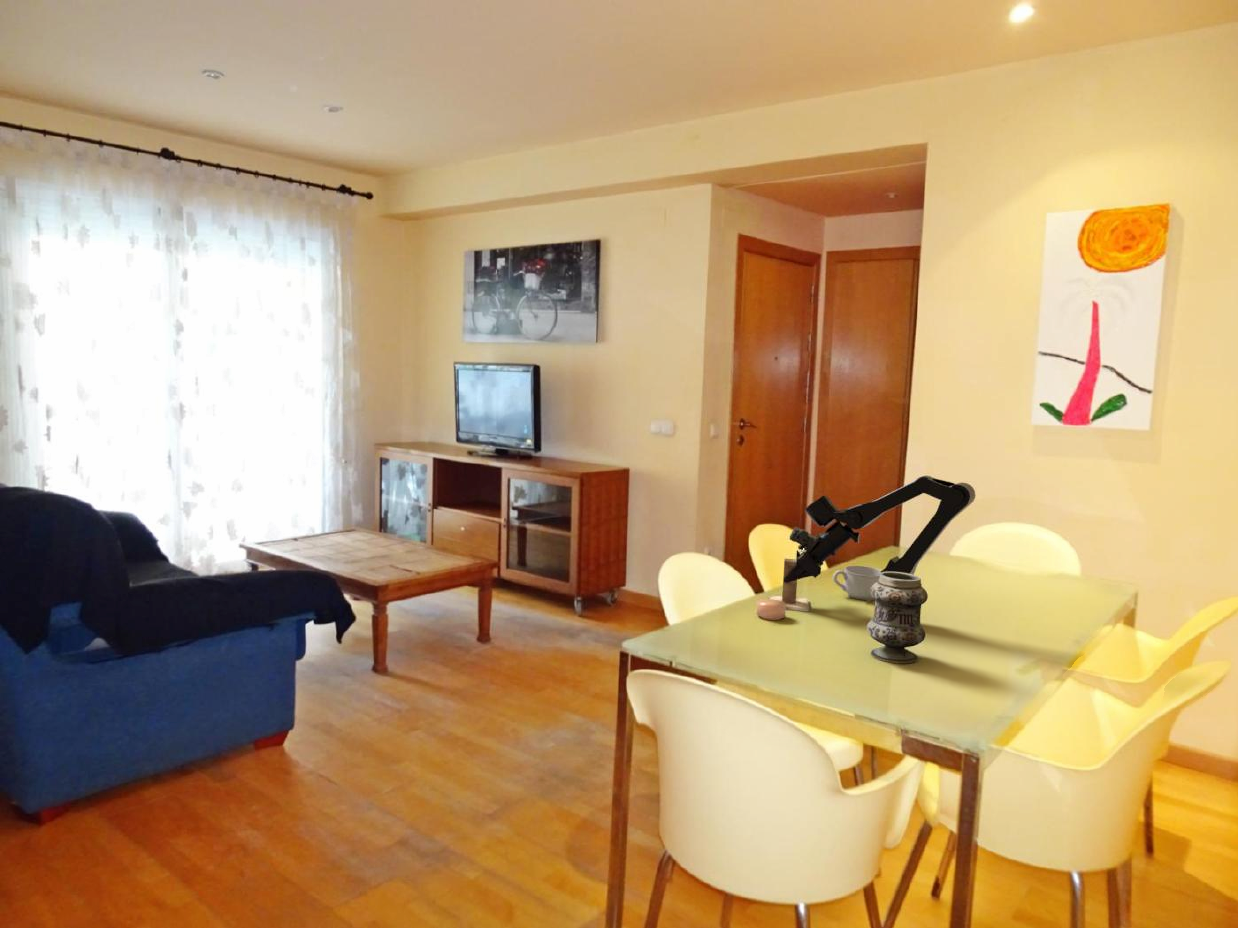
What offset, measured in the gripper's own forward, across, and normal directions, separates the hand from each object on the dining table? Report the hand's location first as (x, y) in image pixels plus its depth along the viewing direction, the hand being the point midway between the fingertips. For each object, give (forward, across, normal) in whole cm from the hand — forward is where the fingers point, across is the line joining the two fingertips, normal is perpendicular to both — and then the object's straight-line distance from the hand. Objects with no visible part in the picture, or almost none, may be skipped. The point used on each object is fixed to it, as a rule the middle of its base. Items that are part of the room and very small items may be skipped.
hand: (784, 579), depth 228 cm
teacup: (-9, -16, +19) cm, 26 cm away
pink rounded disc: (+7, +14, +3) cm, 16 cm away
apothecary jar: (-12, +35, +22) cm, 43 cm away
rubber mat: (+4, 0, +6) cm, 7 cm away
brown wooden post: (+4, 0, +6) cm, 7 cm away
